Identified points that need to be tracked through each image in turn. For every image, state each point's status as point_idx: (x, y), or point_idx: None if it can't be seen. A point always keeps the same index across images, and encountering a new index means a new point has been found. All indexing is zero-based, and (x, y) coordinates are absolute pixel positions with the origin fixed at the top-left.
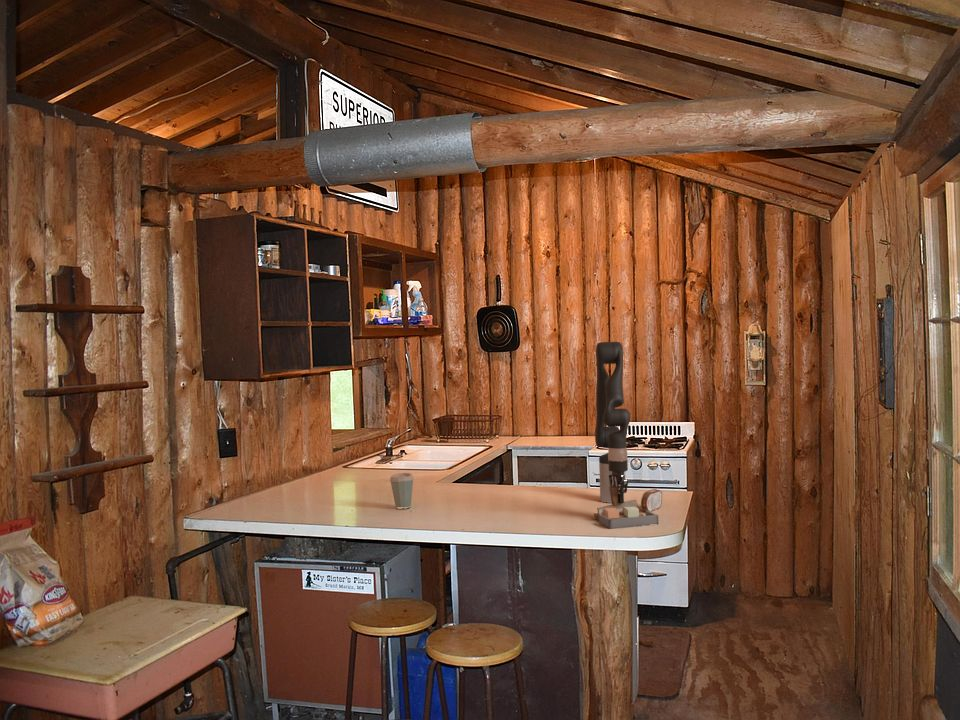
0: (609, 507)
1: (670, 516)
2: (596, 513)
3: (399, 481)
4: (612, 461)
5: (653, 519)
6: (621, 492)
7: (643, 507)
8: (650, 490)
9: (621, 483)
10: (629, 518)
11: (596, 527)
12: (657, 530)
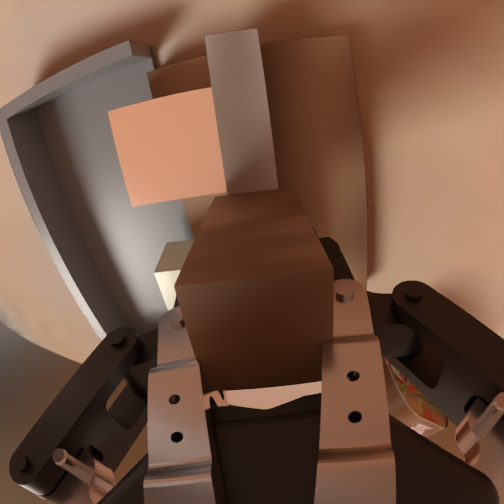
0: (220, 142)
1: (272, 393)
2: (338, 54)
3: None
4: None
5: None
6: (111, 342)
7: None
8: (431, 423)
9: (47, 439)
10: (44, 236)
11: (68, 27)
12: (34, 304)
